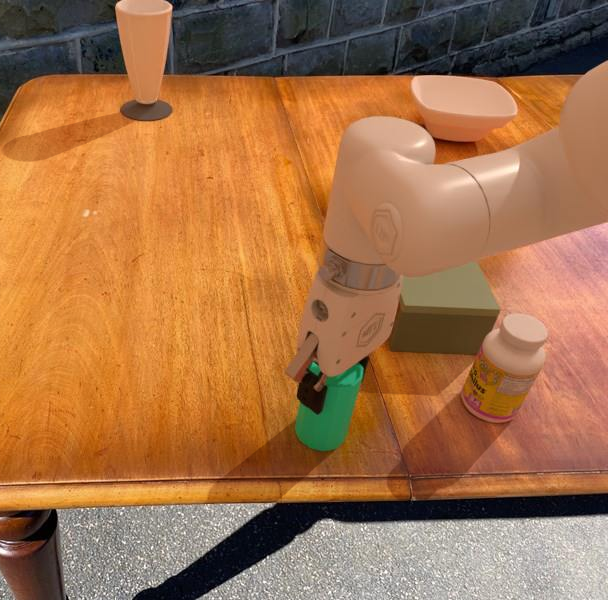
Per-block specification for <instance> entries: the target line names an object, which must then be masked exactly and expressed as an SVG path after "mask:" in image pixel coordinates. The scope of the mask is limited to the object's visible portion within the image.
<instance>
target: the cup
mask: <svg viewBox="0 0 608 600" xmlns="http://www.w3.org/2000/svg"><path fill="white" fill-rule="evenodd" d="M114 10H115V17H116V23H117V29H118V36H119V40H120V41H119V42H120V46H121V51H122V56H123V60H124V65H125V70H126V72H127V77H128V80H129V85H130V87H131V90H132V93H133V97H134V99H132V100H128V101H126V102H125V103H124V104H122V105H120V112H121V113H122V115H123V116H124V117H127V118H129V119H131V120H134V121H142V122H153V121H159V120H163V119H165V118H167V117H169V116H170V115H171V114H172V113H173V106H172V105H171V104H170V103H169V102H168V101H167V102H166V101H164V100H161V99H158V97H159V95H160V94H159V93H160V90H161V86H162V83H163V77H164V72H165V69H166V63H167V62H166V61H167V55H168V48H169V43H170V34H171V25H172V14H173V5H172V4H171V3H170V2H169V1H167V0H120V1H117V2H116V4H115V7H114Z"/></svg>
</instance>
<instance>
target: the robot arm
mask: <svg viewBox="0 0 608 600" xmlns="http://www.w3.org/2000/svg"><path fill="white" fill-rule="evenodd" d="M560 111H561V112H560V116H559V124H558V126H556V127H553V128H551V129H549V130H547V131H546V132H543V133H541V134H538V135H536V136H535V137H533V138H530V139H528V140H526V141H524V142H522V143H520V144H517V145H515V146H512V147H510V148H507V149H503V150H499V151H497V152H496V151H495V152H492V153H488V154H483V155H477V156H473V157H468V158H464V159H459V160H455V161H450V162H446V163H441V164H440V163H438V164H435V163H434V162H435V160H436V143H435V140H434V137H433V136H432V135H431V134H430V133H429V132H428V130H427V129H426V128H424V127H423V126H421V125H419V124H417V123H416V122H413V121H410V120H407V119H404V118H401V117H395V116H385V115H375V116H373V115H372V116H368V117H363V118H360V119H358V120H356V121H354V122H352V123H350V125H349V126H347V127H346V129H345V130H344V131H343V134H342V135H341V137H340V140H339V144H338V148H337V155H336V159H335V166H334V171H333V176H332V181H331V186H330V192H329V198H328V204H327V210H326V213H325V220H324V227H323V232H322V236H321V242H320V247H319V253H318V258H317V265H316V267H317V269H318V270H317V272H315V275H314V277H313V280H312V283H311V285H310V288H309V291H308V293H307V294H308V295H307V297H306V301H305V305H304V307H303V308H304V309H303V310H302V311H303V312H302V316H301V320H300V324H299V329H298V333H297V334H298V335H297V341H296V342H297V343H296V351H297V353H296V354H295V355H294V357H293V358H292V359H291V361H290V363H289V364H288V365H287V367H286V368H285V370H284V375H286V376H288V377H289V378H290V379H291V380H293V381H294V382H296V383H298V386H297V390H296V398H297V400H298V401H299V403H300V402H301V403H302V404H303V405H304V406H306V407H308V408H309V409H310V410H312V411H313V412H314V413H315V414H317V415H318V414H320V413H321V412H322V411H323V406H324V402H325V398H326V393H327V389H328V388H327V386H326V385H325V383H326V381H327V379H328V377H333V376H337V375H339V374H341V373H343V372H344V371H346V370H347V369H349V368H350V367H352V366H353V365H354V364H356V363H357V362H359V363H360V365H361V366H362V367H363V368H364V369H363V378H362V381H361V383H363V381H364V378H365V374H366V372H367V368H368V364H369V361H370V357H369V356H371V355H372V354H373V352H374V351H375V350H377V349H378V348H379V347H381V346H382V345H383V344H384V343H385V342H386V341H387V340H388V339H389V338H390V336H391V335H392V334H391V333H392V332H393V328H394V325H395V324H394V323H395V321H396V315H397V311H398V307H399V304H400V303H399V298H400V293H401V287H402V279H403V276H407V277H421V276H426V275H430V274H434V273H437V272H441V271H444V270H447V269H451V268H454V267H458V266H461V265H465V264H467V263H470V262H473V261H476V260H477V261H479V260H482V259H483V260H484V259H487V258H489V257H494V256H497V255H500V254H504V253H507V252H511V251H515V250H517V249H518V250H519V249H522V248H525V247H528V246H531V245H536V244H538V243H542V242H544V241H548V240H551V239H554V238H558V237H561V236H565V235H569V234H572V233H575V232H578V231H581V230H584V229H585V230H586V229H588V228H593V227H595V226H599V225H603V224H606V223H608V60H605V61H604V62H602V63H600V64H598V65H597V66H595V67H593V68H591V69H590V70H588V71H587V72H586V73H585V74H584V75H582V76H581V77H580V78H579V79H578V80H576V82H575V84H574V85H573V86H572V87H571V88H570V90H569V91H568V93H567V95H566V97H565V100H564V103H563V105H562V108H561V110H560ZM313 362H314V363H315V364H317V365H318V366H319V368H320V370H321V371H320V373H319V375H318V376H317V375H316V374H314V373H313V372H312V371H310V368H311V365H312V363H313Z"/></svg>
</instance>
